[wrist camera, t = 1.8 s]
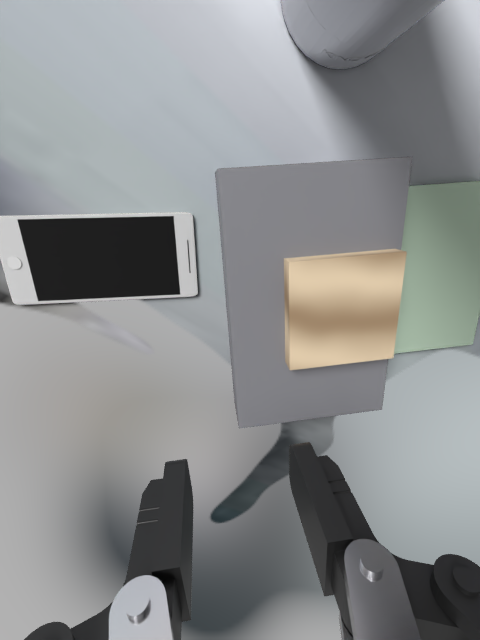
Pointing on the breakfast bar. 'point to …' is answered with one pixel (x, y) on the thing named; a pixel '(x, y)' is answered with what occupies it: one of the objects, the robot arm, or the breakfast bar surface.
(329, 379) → the gray rectangular box
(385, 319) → the cork coaster
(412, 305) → the sage mat
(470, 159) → the breakfast bar surface
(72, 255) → the smartphone
